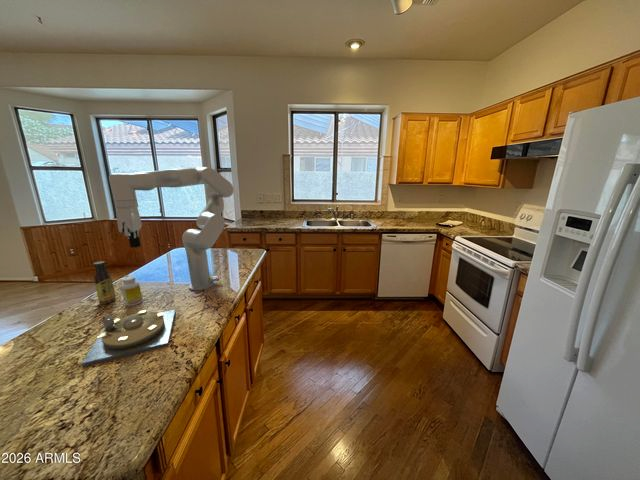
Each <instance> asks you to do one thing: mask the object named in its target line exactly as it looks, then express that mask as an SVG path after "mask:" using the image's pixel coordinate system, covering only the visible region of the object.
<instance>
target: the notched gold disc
mask: <svg viewBox="0 0 640 480" xmlns="http://www.w3.org/2000/svg"><path fill="white" fill-rule="evenodd" d="M147 310H148V309H147ZM147 310H146V309H145V310H139V312H136V313H134V314H130V315H127V316H125V317H121V318H115V319H114V317H112V316H109V317H106V318H103V320H102V324H103V327H104V328H105V329H104V328H103V329H104V331H103V330H102V331H103V332H102V331H101V332H102V334H101V333H100V334H99V335H101V338H102V342H103V345H104V346H105V347H107V348H111V349H121V348H127V347H131V346H135V345H138V344H140V343H143V342H145V341H147V340H149V339H151V338H153V337H154V336H156V335H157V334H158V333H159V332H160V331H161V330H162V329H163V327H164V325H165V323H164V318H163V314H162V313H161V312H157V311H147Z"/></svg>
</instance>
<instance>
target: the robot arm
mask: <svg viewBox="0 0 640 480" xmlns="http://www.w3.org/2000/svg"><path fill="white" fill-rule="evenodd" d="M108 180H109V184H110V189H111V193H112V199H113V202H114V208H115V215H116V222H117V223H116V224H117V228H118V232H119V233H120V234H123V233H124V236H125V237H127V239H128V241H129V246H130V248H131V249H132V248H140V247H141V241H140V233H139V232H140V230H141V228H142V226H143V223H142V221H141V215H140V212H139V209H138V207H139V204H138V199H137V198H138V197H137V193H136V191H142V192H143V191H144V192H148V191H152V190H154V189H155V188H157V189H158V188H183V187H191V186H197V185H199V186H200V185H206V192H207V193H206V194H207V195H208V201H207V204H206V205H205V207H204V208H203V210H202V211H201V212H200V214H199V215H198V216H197V217H196V225H197V227H198V228H199V229H198V228H189V229H187V230H185V231H184V232H183V234H182V236H181V237H182V238H181V240H182V244H183V247H184V250H185V253H186V254H185V255H186V259H187V265H188V267H187V268H188V270H189V271H188V272H189V277H190V278H189V279H190V283H189V284H188V290H190V291H203V290H207V289H210V288H211V287H213V286H214V284H215V283H214V282H217V281H218V282H219V281H220V277H219V276H216V275H214V276H211V275H212V274H210V268H209V260H208V254H207V251H208V250H209V249H211V248H212V247H213V246H214V245H215V243H216V241H217V240H218V238H219V237H220V235H221V234H222V233H223V231H224V228H225V225H226V222H225V218H224V216H222V215H221V214H222V213H223V211H224V208H225V201H224V199H225V198H230V197H231V196H233V194H234V190H235V189H234V185H233V184H232V183H231V182H230V181H229V180H228V179H227V178H225V177H224V176H223V175H222V174H220V173H219V172H218V171H217V170H216V169H214V168H212V167H209V166H196V167H193V166H192V167H183V168H181V167H180V168H169V169H163V170H162V169H161V170H150V171H136V172H132V173H127V172H126V173H123V172H121V173H120V172H117V173H110V174H109V175H108Z"/></svg>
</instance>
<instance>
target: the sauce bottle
mask: <svg viewBox="0 0 640 480" xmlns="http://www.w3.org/2000/svg"><path fill="white" fill-rule="evenodd" d="M93 267H94V269H95V274H94V277H93V281H94V286H95V290H96V295H97V300H98V302H99V304H100V305H107V304H111V303H113V302H115V301H116V293H115V292H116V291H115V288H114V284H113V283H114V282H113V278H112V276H111V275H110V273H109V272H108V270H107V268H106V262H105V261H104V260H103V261H97V262H94V263H93Z"/></svg>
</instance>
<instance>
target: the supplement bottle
mask: <svg viewBox="0 0 640 480" xmlns="http://www.w3.org/2000/svg"><path fill="white" fill-rule="evenodd" d="M121 291H122V296H123V299H124V304H125V305H126V306H128V307H131V306H132V307H134V306H137V305H139V304H141V303H142V302H143V296H142V292H141V286H140V283H139V281H137V280H136V277H135V276H133V275H132V276H131V275H129V276H127V277H123V278H122V285H121Z"/></svg>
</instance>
